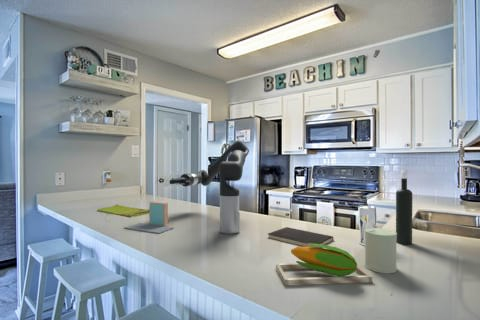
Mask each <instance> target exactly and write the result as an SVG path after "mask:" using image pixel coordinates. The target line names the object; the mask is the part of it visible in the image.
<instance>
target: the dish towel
mask: <svg viewBox="0 0 480 320" xmlns="http://www.w3.org/2000/svg"><path fill="white" fill-rule="evenodd" d="M96 211H97V212H101V213H106V214H111V215H116V216H121V217H123V216H124V217H129V218H135V217H140V216H144V215H149V208H148V209H145V208H144V209H143V208H138V207H131V206H125V205H120V204H117V203H116V204H115V205H112V206H106V207H102V208H98V209H97V210H96Z"/></svg>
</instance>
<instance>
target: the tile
mask: <svg viewBox="0 0 480 320" xmlns="http://www.w3.org/2000/svg"><path fill="white" fill-rule="evenodd" d="M148 202H149V205H148V206H149V208H148V209H149V214H148V215H149V216H148V217H149V218H148V219H149V223H148V224H150V225H158V226H165V227H166V226H167V227H169V224H168V223H169V206H168V205H169V202H163V201H148Z"/></svg>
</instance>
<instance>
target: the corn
mask: <svg viewBox="0 0 480 320" xmlns="http://www.w3.org/2000/svg"><path fill="white" fill-rule="evenodd" d="M308 244H309V245H314V246H319V247H306V246H297V247H294V248H292V249H290V253H291V254H292V255H293V256H294V257H295V258H297V259H298V260H297V261H296V262H295V263H298V264H300V265H302V266H304V267H306V268H309V269H308V270H312V271H313V270H314V271H315V272H318V273H323V274H327V275H331V276H333V277H337V276H351V274H352V275H353V273H356V271H355V270H356V269H357V266H358V263H357V261H356V259H355V258H354V256H352V255H351V253H349V252H348V251H346V250H345V249H341V248H339V247H336V246H331V245H327V244H325V245H321V244H312V243H308ZM299 260H300V261H299Z"/></svg>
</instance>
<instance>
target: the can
mask: <svg viewBox="0 0 480 320" xmlns="http://www.w3.org/2000/svg"><path fill="white" fill-rule="evenodd" d="M396 238H397V233H396V231H394V230H392V229H387V228H382V227H375V228H367V229H365V246H364V265H363V266H364V267H365V268H366V269H367V270H370V271H373V272H375V273H380V274H394V273H396V272H397V271H398V269H397V242H396Z"/></svg>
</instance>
